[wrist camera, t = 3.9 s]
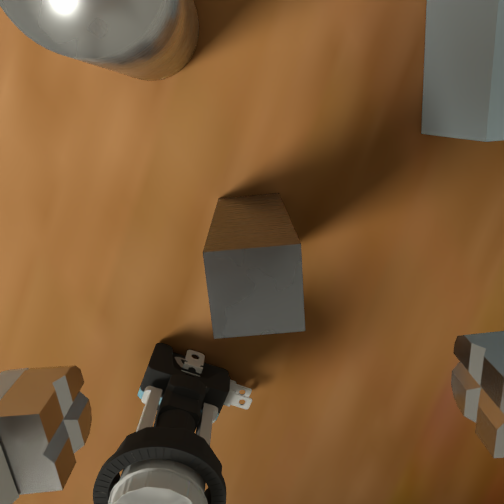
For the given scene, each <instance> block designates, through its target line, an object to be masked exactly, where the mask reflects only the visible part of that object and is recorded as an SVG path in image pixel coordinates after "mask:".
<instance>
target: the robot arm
mask: <svg viewBox="0 0 504 504" xmlns="http://www.w3.org/2000/svg"><path fill="white" fill-rule="evenodd" d="M454 354H455V356H456V357H457V358H458V359H459V361H460V362H459V363H458V364H457V366H456V367H455V368H454V369H453V370H452V381H451V385H452V390H453V395H454V399H455V401H456V403H457V406H458V408H459V409H460V411H461V412H462V414H463V415H464V416H465V417H467V418H469V419H470V420H472V421H474V422H476V429H475V432H476V434H477V435H478V437H479V438H480V440H481V441H482V442H483V444H484V445H485V447H486V448H487V449H488V451H489V452H490V454H491V455H492V456H493V458H504V331H500V332H490V333H481V334H471V335H461V336H457V338H456V341H455V344H454ZM83 384H84V380H83V376H82V373H81V370H80V369H79V368H78V367H77V366H58V367H41V368H30V369H29V368H23V369H13V370H7V371H3V372H1V373H0V504H12V503H13V502H14V501H15V500H16V499H17V498H19V495H20V494H30V493H39V492H49V491H58V490H63V488H64V486H65V484H66V482H67V480H68V478H69V476H70V474H71V472H72V470H73V468H74V466H75V464H76V460H75V456H74V453H75V452H76V451H77V450H79V449H80V448H81V447H82V446H84V445H85V442H86V440H87V438H88V436H89V433H90V427H91V421H92V416H91V407H90V402H89V399H88V398H87V397H85V396H84V395H83V394H82V393H81V392H80V389H81V387H82V386H83Z"/></svg>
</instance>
